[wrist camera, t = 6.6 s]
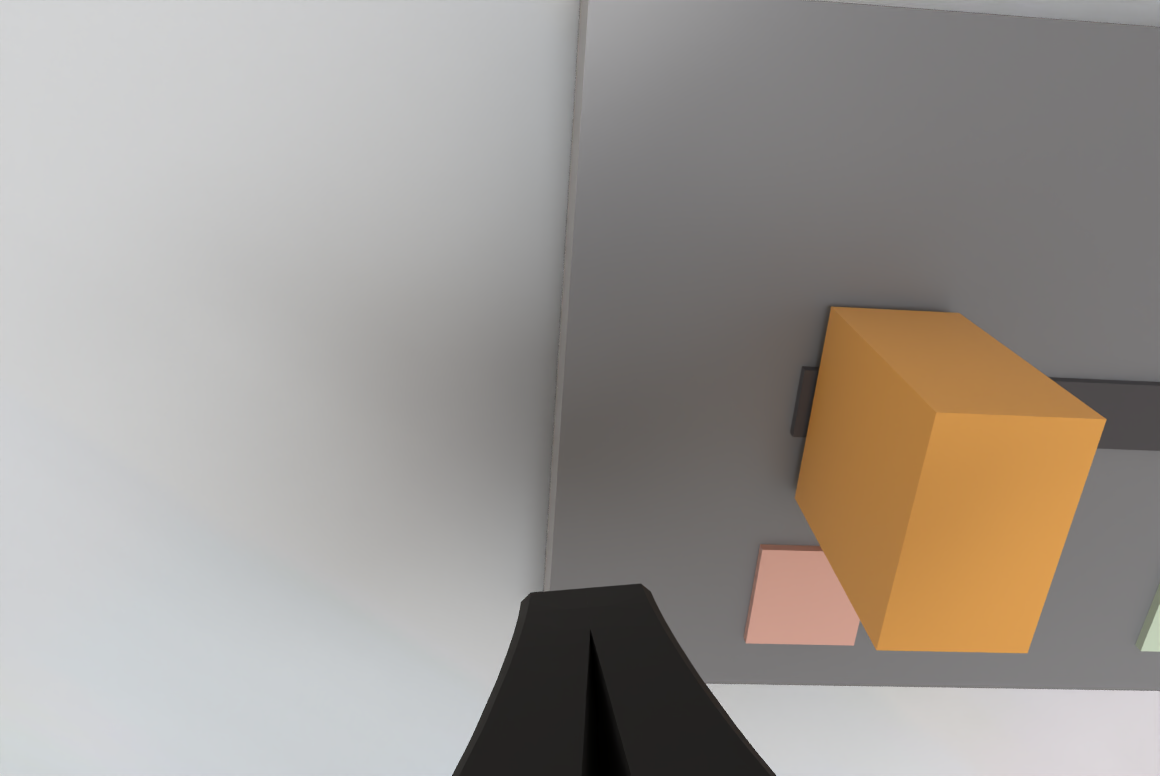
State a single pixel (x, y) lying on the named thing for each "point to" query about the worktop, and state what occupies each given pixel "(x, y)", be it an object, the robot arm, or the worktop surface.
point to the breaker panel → (846, 279)
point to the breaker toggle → (941, 479)
